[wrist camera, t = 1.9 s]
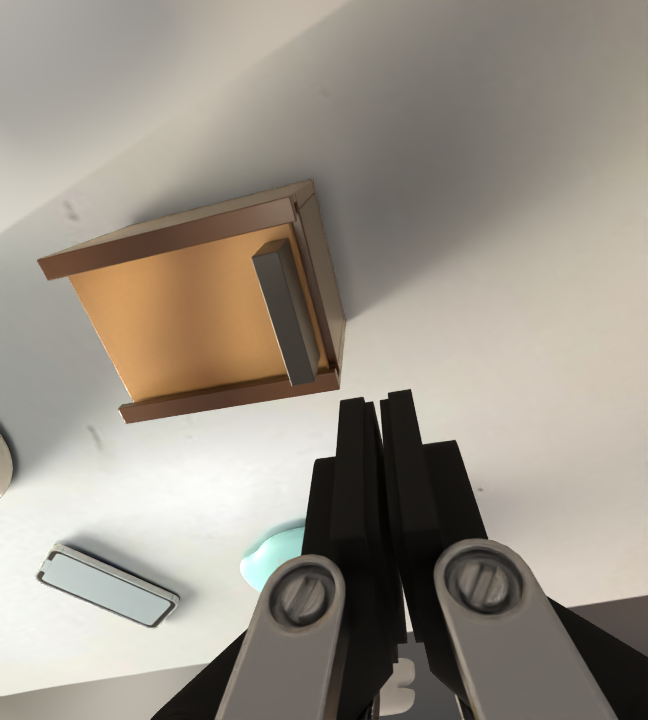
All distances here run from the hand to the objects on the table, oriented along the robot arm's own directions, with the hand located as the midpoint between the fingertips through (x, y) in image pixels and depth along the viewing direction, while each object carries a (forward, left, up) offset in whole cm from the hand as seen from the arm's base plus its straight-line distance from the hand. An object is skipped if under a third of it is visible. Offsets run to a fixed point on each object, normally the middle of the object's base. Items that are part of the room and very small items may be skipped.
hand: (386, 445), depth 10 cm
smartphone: (+31, -36, -20) cm, 51 cm away
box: (0, -9, -20) cm, 22 cm away
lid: (0, -9, -12) cm, 16 cm away
